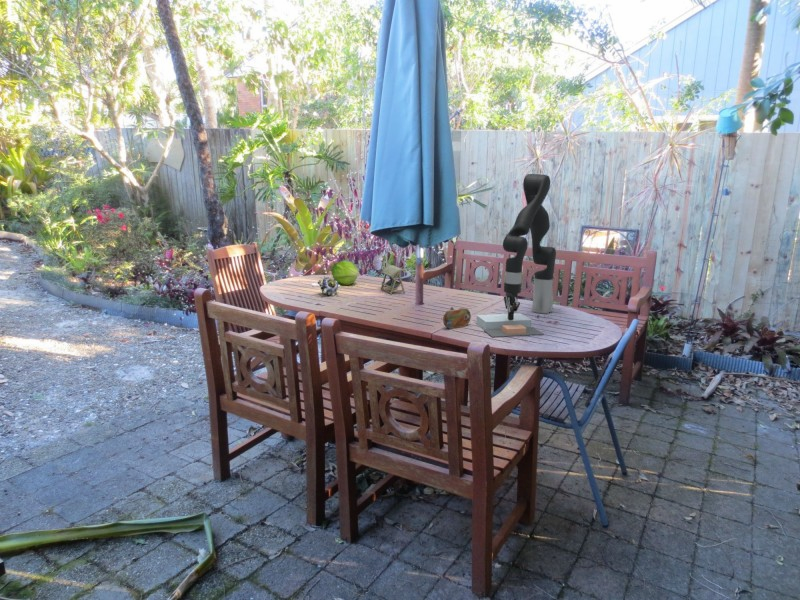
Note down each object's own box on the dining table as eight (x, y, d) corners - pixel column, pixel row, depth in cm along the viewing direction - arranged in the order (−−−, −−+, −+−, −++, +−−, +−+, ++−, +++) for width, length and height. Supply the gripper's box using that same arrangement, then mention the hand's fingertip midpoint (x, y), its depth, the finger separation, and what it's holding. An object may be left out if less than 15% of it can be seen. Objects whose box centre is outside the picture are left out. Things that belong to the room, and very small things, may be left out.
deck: (519, 321, 257) (520, 313, 256) (530, 328, 246) (531, 319, 245) (476, 323, 253) (476, 315, 252) (485, 330, 241) (485, 322, 240)
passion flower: (332, 306, 305) (326, 290, 295) (316, 299, 311) (309, 283, 301) (346, 291, 311) (340, 275, 301) (329, 284, 317) (323, 268, 307)
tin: (446, 330, 241) (446, 312, 239) (441, 328, 243) (442, 310, 241) (470, 325, 250) (471, 307, 248) (466, 323, 252) (466, 306, 250)
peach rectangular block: (526, 328, 235) (526, 333, 236) (520, 324, 241) (520, 329, 241) (507, 329, 233) (506, 334, 234) (501, 325, 239) (501, 330, 240)
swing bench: (380, 289, 321) (380, 265, 318) (394, 288, 325) (394, 264, 322) (390, 295, 308) (391, 269, 305) (405, 293, 312) (406, 268, 309)
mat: (533, 328, 245) (533, 327, 245) (543, 334, 236) (543, 333, 236) (483, 331, 240) (483, 329, 240) (492, 337, 231) (492, 336, 231)
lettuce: (368, 283, 334) (349, 290, 324) (344, 277, 350) (325, 284, 339) (365, 260, 330) (346, 266, 319) (341, 256, 345) (322, 262, 335)
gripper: (527, 284, 231) (524, 323, 235) (514, 278, 244) (512, 315, 248) (511, 285, 230) (508, 324, 234) (499, 279, 242) (496, 316, 246)
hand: (510, 319), depth 241 cm, fingers closed
